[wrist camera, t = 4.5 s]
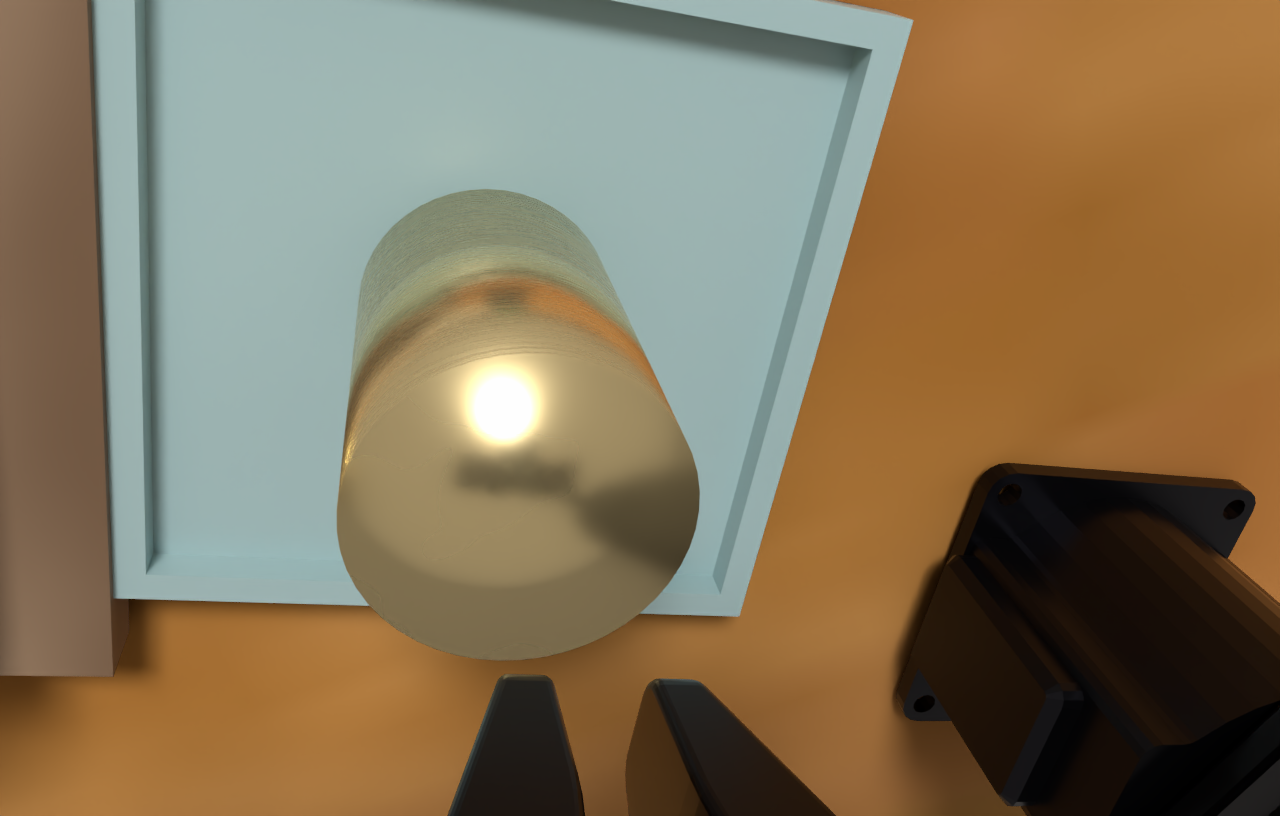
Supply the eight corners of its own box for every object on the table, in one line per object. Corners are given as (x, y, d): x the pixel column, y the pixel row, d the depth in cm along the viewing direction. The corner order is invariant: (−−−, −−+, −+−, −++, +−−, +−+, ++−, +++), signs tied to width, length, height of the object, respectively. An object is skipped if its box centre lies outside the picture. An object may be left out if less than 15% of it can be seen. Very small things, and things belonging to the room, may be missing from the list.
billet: (630, 207, 16) (735, 374, 11) (587, 429, 18) (660, 662, 13) (368, 171, 15) (349, 338, 10) (350, 411, 17) (325, 658, 12)
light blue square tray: (886, 11, 16) (913, 20, 15) (725, 584, 21) (738, 616, 20) (107, -145, 13) (85, -144, 12) (127, 562, 18) (113, 598, 17)
